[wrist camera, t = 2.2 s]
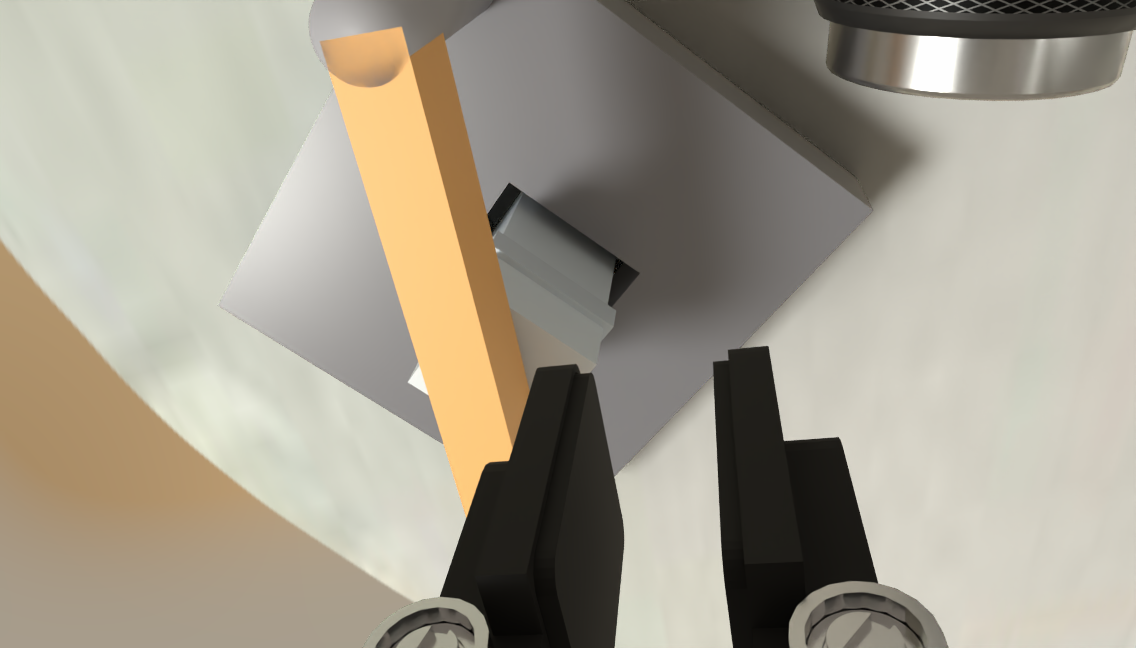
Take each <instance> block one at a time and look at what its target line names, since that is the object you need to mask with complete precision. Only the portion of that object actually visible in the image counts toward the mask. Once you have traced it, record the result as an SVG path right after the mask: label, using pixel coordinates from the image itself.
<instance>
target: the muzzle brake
mask: <svg viewBox="0 0 1136 648" xmlns="http://www.w3.org/2000/svg"><path fill="white" fill-rule="evenodd" d="M814 2H815V4H816V7H817V10H818V13H819V15H820V16H821V17H823V18H824V19H826V20H828V21H830V28H829V38H828V47H827V57H826V65H827V68H828V69H829V70H830V72H831V73H833V74H835V75H836V76H838V77H840V78H842V79H845V80H847V81H850V82H853V83H856V84H859V85H862V86H866V87H870V88H874V89H879V90H884V91H889V92H895V93H901V94H908V95H916V96H924V97H932V98H946V99H959V100H983V101H1024V100H1042V99H1054V98H1063V97H1071V96H1077V95H1082V94H1086V93H1091V92H1096V91H1099V90H1102V89H1105V88H1107V87H1110V86H1111V85H1113V84H1114V83H1115V82H1116V81H1117V80H1118V79H1119V78H1120V76H1121V73H1122V70H1123V66H1124V62H1125V59H1126V55H1127V51H1128V47H1129V44H1130V40H1131V36H1132V33H1133V30H1136V0H814Z"/></svg>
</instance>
